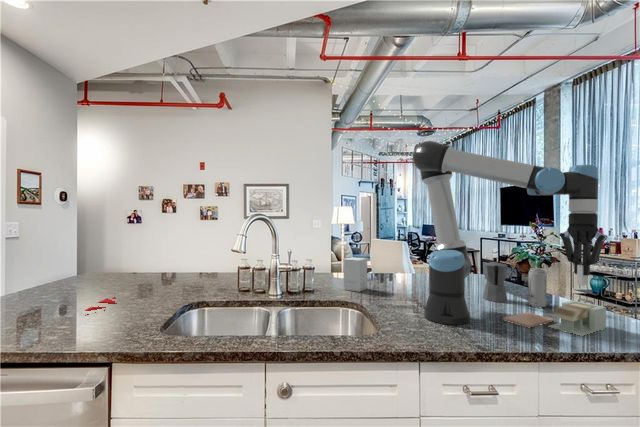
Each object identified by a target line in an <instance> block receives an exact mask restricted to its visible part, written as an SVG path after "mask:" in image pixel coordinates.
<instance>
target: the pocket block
mask: <svg viewBox="0 0 640 427" xmlns="http://www.w3.org/2000/svg"><path fill="white" fill-rule="evenodd" d="M573 303H578V304H583V305H587V306H592V307H593V308H590V309H589V317H587V318H584V319H580V320H576V321H569V320H565V319H561V318H560V322H557V323H554V324H551V325H548V328H549V327H551V328H550V329H552V328H555V329H554V330H556V329H559V330H562V331H561V332H563V331H566V332H569V333H568V334H570V333H573V334H572V335H574V334H576V335H575V336H577V335H580V336H579V337H581V336H582V337H585V336H588V335H591V334H590V333H592V334H594V333H593V332H595V333H597V332H596V331H598V332H600V331H599V330H601V331H603V330H602V329H604V330H606V329H607V307H606V306H603V305H597V304H593V303H592V304H591V303H587V302H583V301H578V300H569V301H565V302H561V306H564V305H569V304H573ZM605 328H606V329H605ZM559 330H558V331H559ZM566 332H565V333H566ZM587 334H588V335H587ZM584 335H585V336H584Z"/></svg>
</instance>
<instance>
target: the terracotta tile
mask: <svg viewBox="0 0 640 427" xmlns="http://www.w3.org/2000/svg"><path fill="white" fill-rule="evenodd" d="M503 320H506V321H510V322H513V323H517V324H520V325H523V326H527V327H533V326H536V327H538V326H537V325H540V324H544V323H548V322H552V321H554V322H555V320H554V318H550V317H547V316H545V315H540V314H536V313H531V312H528V311H527V312H522V313H518V314H513V315H509V316H504V317H502V321H503ZM506 321H505V322H506ZM513 323H512V324H513ZM552 323H553V322H552ZM548 324H549V323H548ZM544 325H545V324H544ZM523 326H522V327H523ZM540 326H541V325H540ZM533 328H534V327H533Z"/></svg>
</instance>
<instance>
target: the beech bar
mask: <svg viewBox="0 0 640 427" xmlns="http://www.w3.org/2000/svg"><path fill="white" fill-rule="evenodd" d="M590 308H593V307H592V306H587V305H583V304H578V303H573V304H569V305H564V306H562V305H559V306H557V307H555V308H554V311H555V312H554V317H555V318H558V319H560V320H561V319H565V320H569V321H576V320H580V319H584V318H587V317H589V309H590Z"/></svg>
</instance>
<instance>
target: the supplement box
mask: <svg viewBox="0 0 640 427" xmlns="http://www.w3.org/2000/svg"><path fill="white" fill-rule="evenodd" d="M367 289H368V258H367V257H365V258H364V257H355V256H354V257H352V256H351V257H347V258H343V290H344V291H350V292H351V291H352V292H359V293H360V292H362V291H364V290H367Z"/></svg>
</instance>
